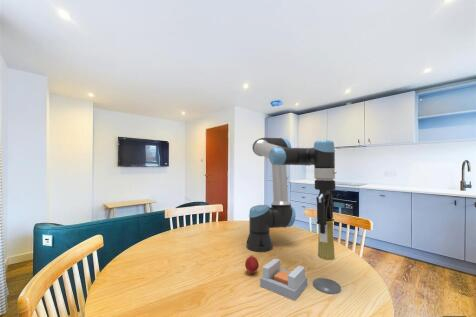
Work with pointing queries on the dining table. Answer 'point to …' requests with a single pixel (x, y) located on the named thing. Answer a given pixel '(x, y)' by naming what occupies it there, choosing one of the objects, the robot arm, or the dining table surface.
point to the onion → (251, 264)
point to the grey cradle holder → (292, 290)
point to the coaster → (326, 285)
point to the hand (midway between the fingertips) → (325, 239)
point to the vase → (327, 248)
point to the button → (282, 277)
